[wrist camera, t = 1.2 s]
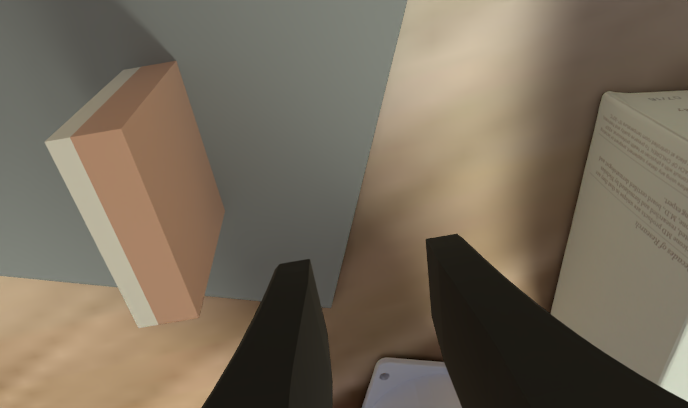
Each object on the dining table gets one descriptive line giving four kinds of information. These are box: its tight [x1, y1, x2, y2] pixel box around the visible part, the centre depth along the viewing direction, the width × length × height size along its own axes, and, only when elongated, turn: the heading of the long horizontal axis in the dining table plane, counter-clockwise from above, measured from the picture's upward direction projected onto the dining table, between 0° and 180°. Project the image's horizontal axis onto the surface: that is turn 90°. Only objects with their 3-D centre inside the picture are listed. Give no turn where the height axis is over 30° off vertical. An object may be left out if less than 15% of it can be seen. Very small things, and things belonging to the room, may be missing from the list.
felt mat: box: [0, 0, 407, 308], centre depth 18 cm, size 14×15×1 cm
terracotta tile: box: [45, 61, 225, 328], centre depth 16 cm, size 2×6×6 cm, turn 9°
